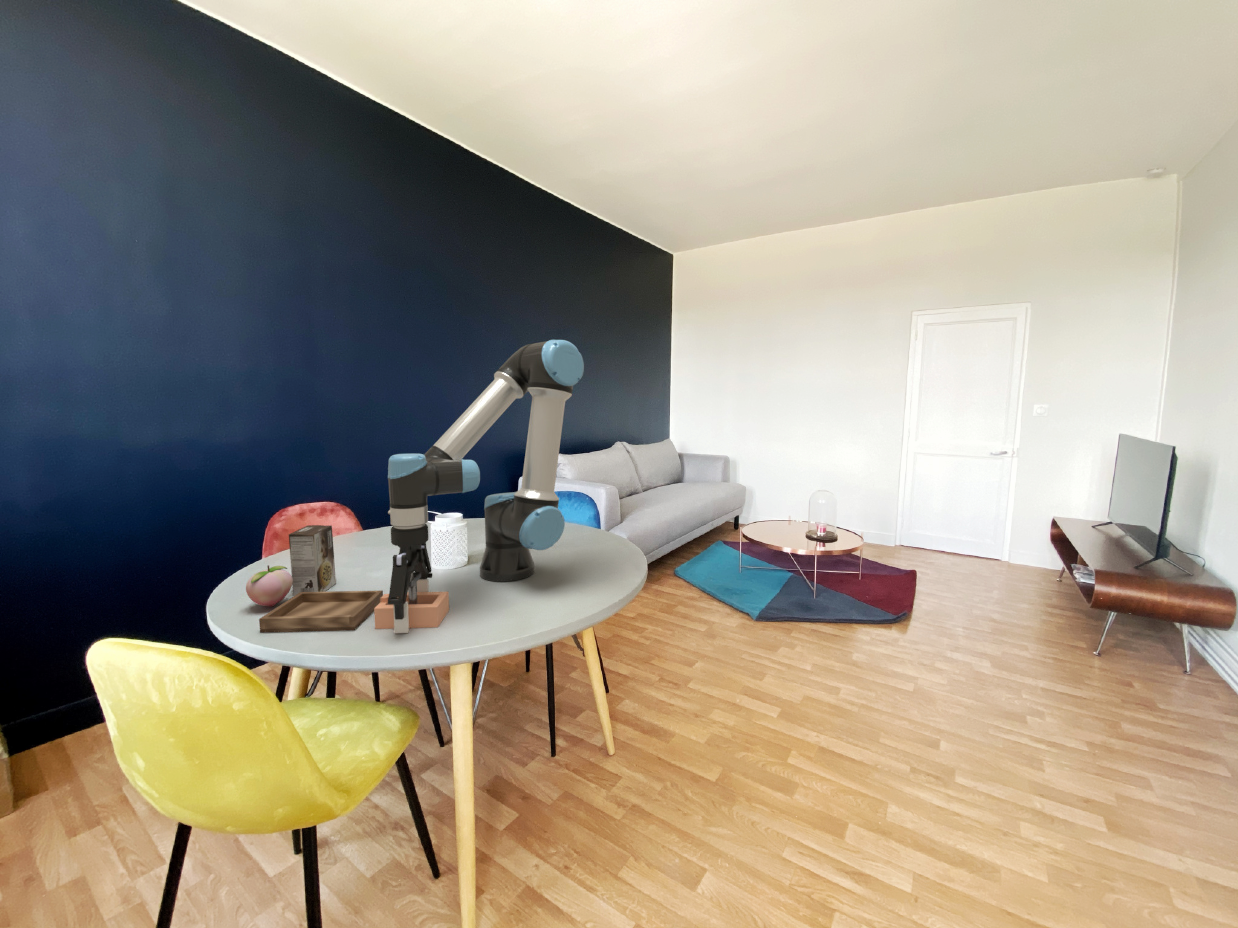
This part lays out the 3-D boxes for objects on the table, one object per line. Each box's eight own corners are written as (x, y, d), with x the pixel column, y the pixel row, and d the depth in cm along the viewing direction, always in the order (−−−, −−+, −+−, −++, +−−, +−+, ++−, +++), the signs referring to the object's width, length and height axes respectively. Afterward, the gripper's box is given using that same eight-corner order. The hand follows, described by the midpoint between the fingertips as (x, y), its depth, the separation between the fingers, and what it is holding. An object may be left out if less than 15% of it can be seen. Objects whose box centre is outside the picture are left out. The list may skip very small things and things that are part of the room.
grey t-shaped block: (422, 612, 113) (421, 572, 111) (413, 625, 106) (411, 581, 105) (414, 613, 112) (412, 572, 111) (404, 625, 106) (402, 582, 105)
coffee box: (311, 584, 130) (307, 524, 128) (336, 583, 131) (333, 524, 129) (291, 597, 121) (287, 533, 119) (319, 596, 122) (314, 533, 120)
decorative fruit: (267, 598, 120) (264, 558, 119) (300, 599, 120) (297, 559, 119) (237, 614, 111) (233, 571, 110) (272, 615, 111) (269, 572, 110)
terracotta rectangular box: (449, 610, 114) (448, 587, 114) (437, 627, 105) (436, 602, 105) (391, 611, 113) (390, 588, 113) (375, 628, 104) (373, 603, 104)
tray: (383, 602, 119) (382, 590, 118) (354, 630, 104) (353, 616, 103) (301, 604, 117) (300, 592, 117) (260, 632, 102) (259, 618, 102)
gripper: (411, 512, 119) (414, 597, 121) (366, 540, 94) (371, 645, 97) (443, 512, 119) (445, 596, 122) (406, 539, 95) (410, 644, 97)
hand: (413, 618), depth 109 cm, fingers open, 13 cm apart
